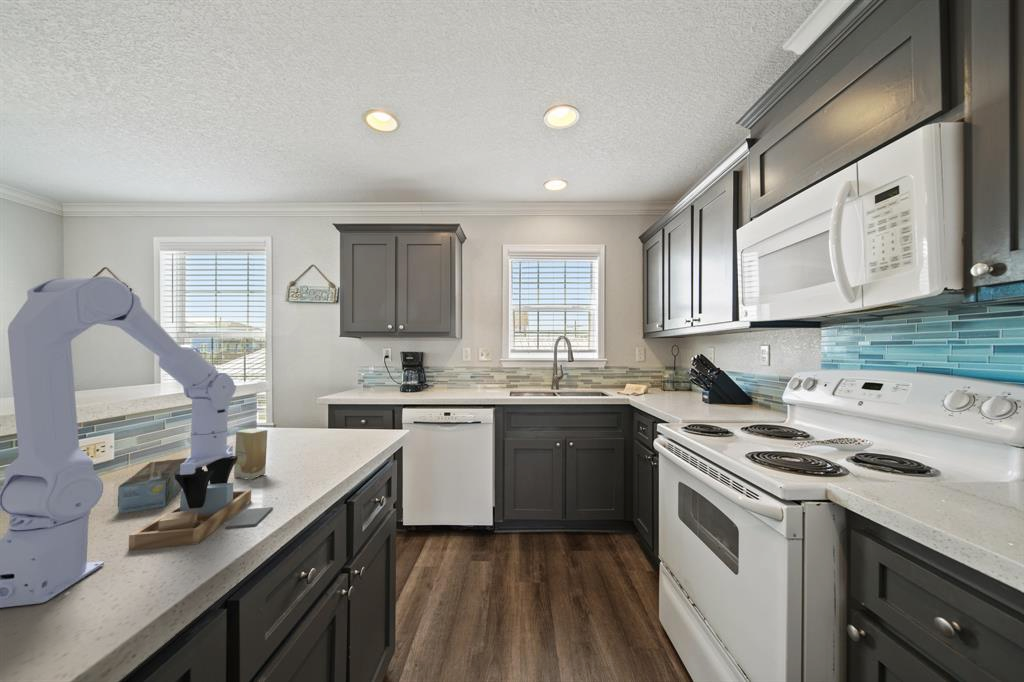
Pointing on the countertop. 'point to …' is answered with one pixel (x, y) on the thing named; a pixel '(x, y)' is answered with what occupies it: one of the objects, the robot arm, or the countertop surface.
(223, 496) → the pale blue block
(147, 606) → the countertop surface
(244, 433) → the skincare box
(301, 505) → the countertop surface
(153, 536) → the tray
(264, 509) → the mat
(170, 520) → the offcut upper
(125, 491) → the beverage carton
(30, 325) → the robot arm
